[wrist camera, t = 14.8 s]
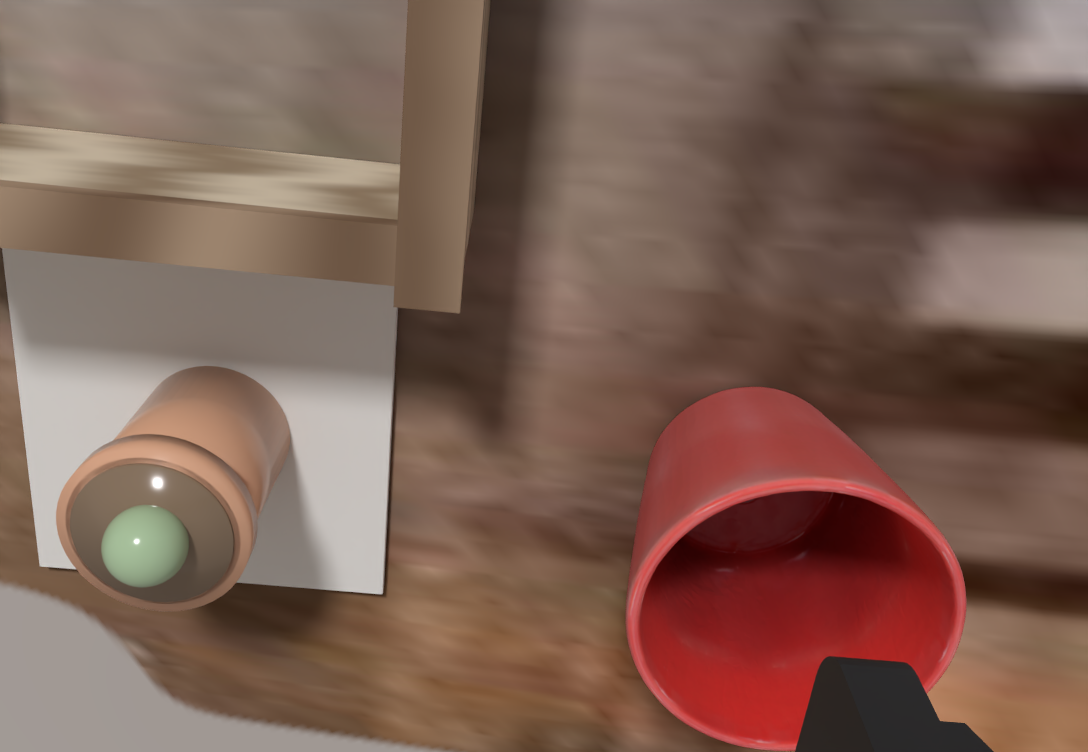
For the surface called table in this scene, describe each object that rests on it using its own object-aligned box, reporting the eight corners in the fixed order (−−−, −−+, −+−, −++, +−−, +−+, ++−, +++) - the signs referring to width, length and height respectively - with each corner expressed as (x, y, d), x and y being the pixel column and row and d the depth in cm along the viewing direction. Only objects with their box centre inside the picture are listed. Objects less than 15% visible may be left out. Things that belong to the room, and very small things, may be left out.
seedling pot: (299, 368, 39) (232, 494, 30) (296, 509, 41) (232, 659, 33) (132, 349, 38) (18, 471, 30) (138, 492, 41) (35, 640, 33)
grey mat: (399, 273, 38) (398, 277, 37) (383, 587, 43) (382, 594, 43) (7, 234, 37) (0, 239, 36) (45, 559, 43) (39, 566, 42)
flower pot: (666, 616, 44) (698, 796, 35) (566, 407, 40) (575, 552, 31) (906, 533, 43) (1003, 699, 34) (829, 305, 38) (918, 428, 29)
